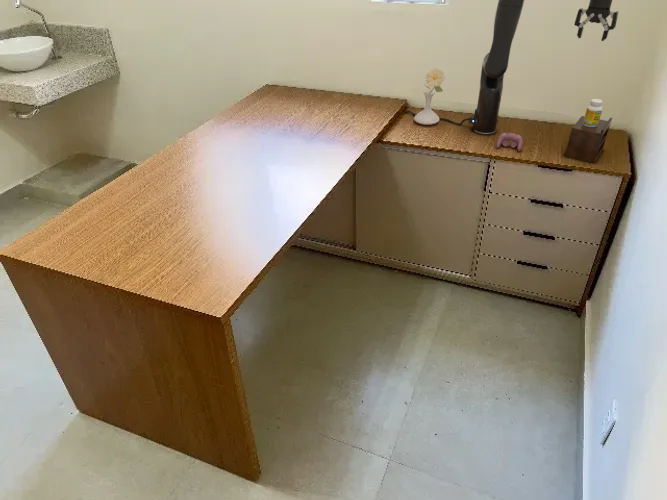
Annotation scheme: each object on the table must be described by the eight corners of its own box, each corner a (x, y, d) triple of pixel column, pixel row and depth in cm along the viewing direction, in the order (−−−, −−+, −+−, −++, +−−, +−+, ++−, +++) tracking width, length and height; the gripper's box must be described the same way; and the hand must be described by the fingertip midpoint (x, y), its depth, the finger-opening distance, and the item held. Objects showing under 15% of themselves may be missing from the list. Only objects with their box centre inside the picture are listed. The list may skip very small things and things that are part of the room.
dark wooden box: (564, 156, 200) (573, 123, 192) (574, 143, 209) (582, 112, 201) (593, 163, 195) (603, 130, 187) (602, 149, 204) (612, 117, 196)
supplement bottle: (588, 121, 198) (595, 97, 192) (600, 125, 194) (608, 101, 188) (579, 124, 195) (586, 100, 190) (592, 128, 192) (599, 104, 186)
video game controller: (520, 152, 207) (525, 135, 206) (520, 151, 203) (524, 134, 202) (496, 148, 211) (500, 131, 209) (495, 147, 207) (499, 130, 205)
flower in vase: (408, 122, 232) (412, 66, 217) (424, 115, 238) (429, 61, 223) (431, 130, 224) (436, 73, 209) (447, 123, 230) (453, 67, 215)
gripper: (626, -7, 186) (612, 39, 196) (585, -11, 193) (574, 34, 202) (621, -4, 181) (608, 43, 191) (580, -7, 188) (569, 39, 198)
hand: (590, 39), depth 197 cm, fingers open, 8 cm apart
